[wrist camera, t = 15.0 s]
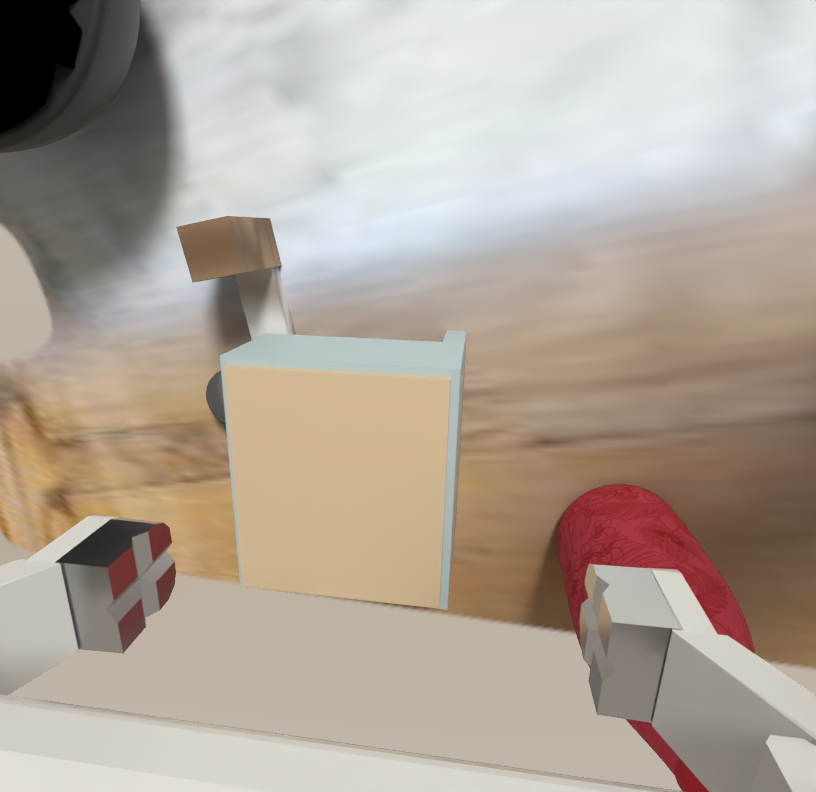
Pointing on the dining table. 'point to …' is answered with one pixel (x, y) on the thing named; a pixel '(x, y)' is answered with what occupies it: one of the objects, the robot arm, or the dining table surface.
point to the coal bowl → (61, 65)
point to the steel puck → (216, 397)
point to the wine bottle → (644, 548)
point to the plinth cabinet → (346, 464)
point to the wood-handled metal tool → (241, 267)
